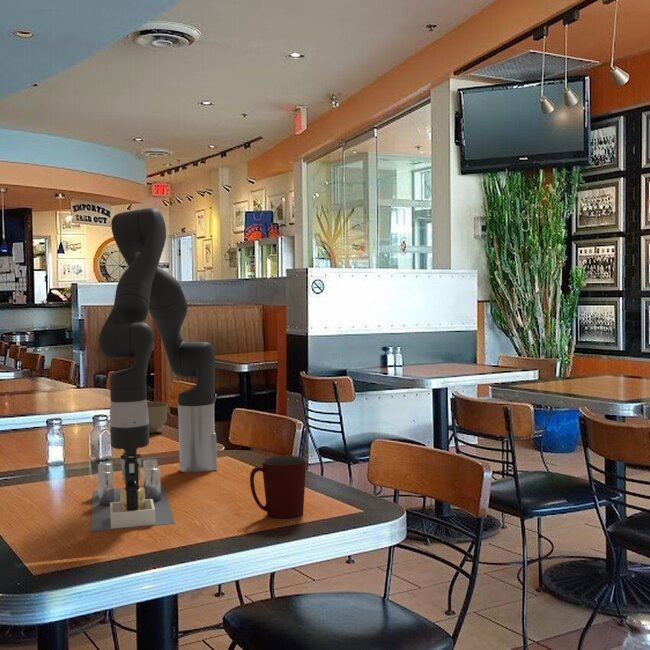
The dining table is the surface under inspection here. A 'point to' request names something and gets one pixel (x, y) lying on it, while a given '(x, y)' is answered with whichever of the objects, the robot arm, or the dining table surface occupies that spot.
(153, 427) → the bowl
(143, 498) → the nut
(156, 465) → the spacers
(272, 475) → the mug
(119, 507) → the white square tray
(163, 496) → the mat
